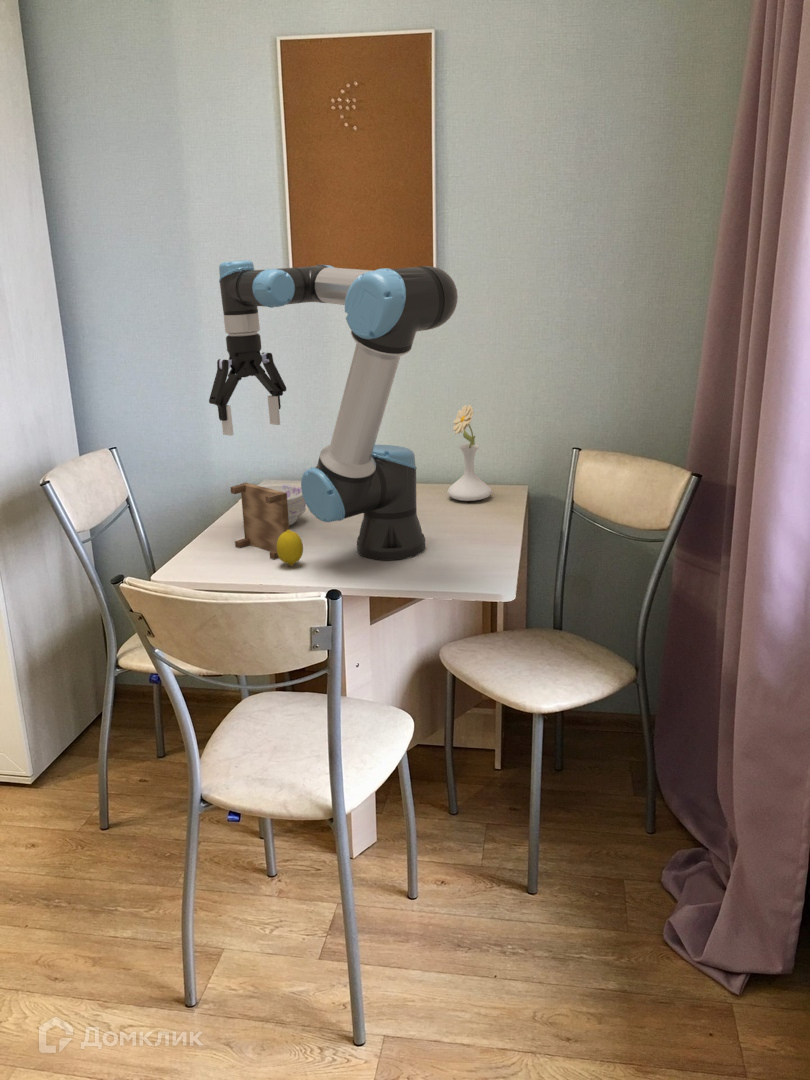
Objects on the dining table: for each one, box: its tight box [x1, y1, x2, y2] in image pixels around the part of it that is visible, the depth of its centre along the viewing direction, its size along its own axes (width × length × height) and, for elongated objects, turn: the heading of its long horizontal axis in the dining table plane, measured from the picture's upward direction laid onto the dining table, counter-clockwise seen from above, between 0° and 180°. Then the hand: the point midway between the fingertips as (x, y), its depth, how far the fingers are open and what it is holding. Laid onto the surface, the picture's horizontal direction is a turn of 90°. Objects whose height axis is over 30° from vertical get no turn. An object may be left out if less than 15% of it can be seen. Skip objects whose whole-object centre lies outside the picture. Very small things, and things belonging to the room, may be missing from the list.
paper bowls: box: [260, 484, 307, 527], centre depth 236 cm, size 15×15×8 cm
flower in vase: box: [447, 403, 493, 502], centre depth 248 cm, size 13×11×25 cm
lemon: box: [277, 529, 304, 567], centre depth 207 cm, size 6×6×8 cm
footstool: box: [229, 482, 290, 560], centre depth 216 cm, size 14×4×14 cm, turn 47°
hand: (252, 429), depth 221 cm, fingers open, 13 cm apart
